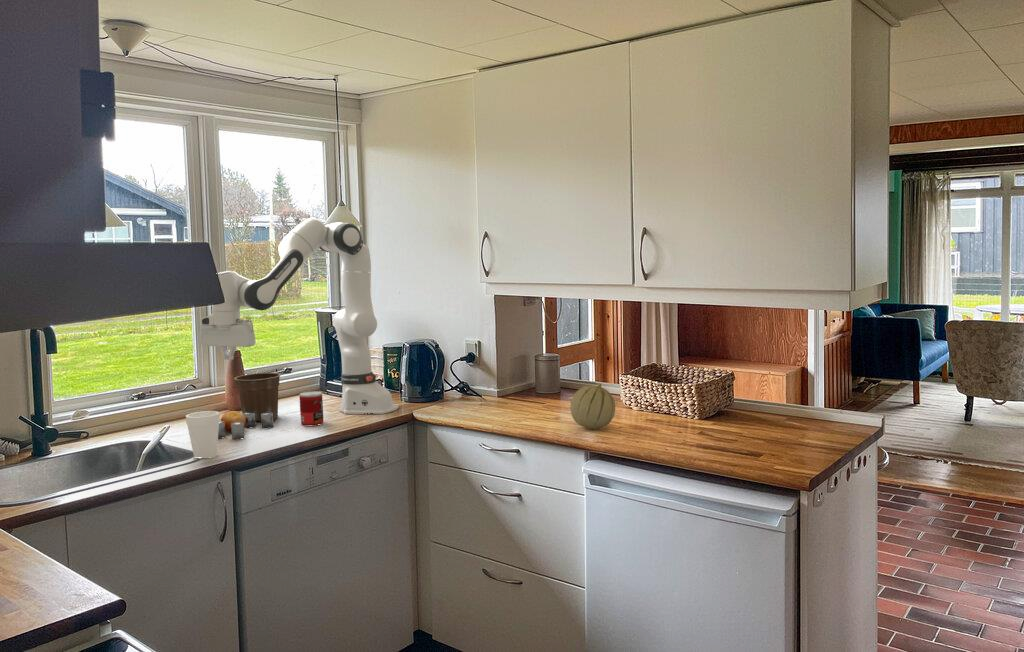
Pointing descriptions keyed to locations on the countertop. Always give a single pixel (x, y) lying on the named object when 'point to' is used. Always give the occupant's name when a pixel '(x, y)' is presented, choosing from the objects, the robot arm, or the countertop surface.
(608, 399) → the cantaloupe
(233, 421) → the fruit
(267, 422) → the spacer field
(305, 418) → the canned food
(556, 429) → the countertop surface
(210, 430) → the foam cup
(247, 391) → the plant pot
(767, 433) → the countertop surface
